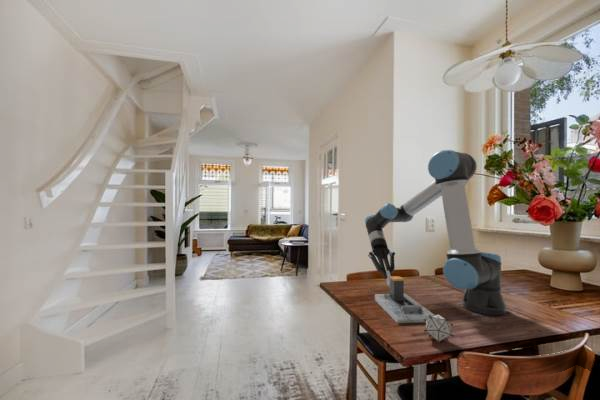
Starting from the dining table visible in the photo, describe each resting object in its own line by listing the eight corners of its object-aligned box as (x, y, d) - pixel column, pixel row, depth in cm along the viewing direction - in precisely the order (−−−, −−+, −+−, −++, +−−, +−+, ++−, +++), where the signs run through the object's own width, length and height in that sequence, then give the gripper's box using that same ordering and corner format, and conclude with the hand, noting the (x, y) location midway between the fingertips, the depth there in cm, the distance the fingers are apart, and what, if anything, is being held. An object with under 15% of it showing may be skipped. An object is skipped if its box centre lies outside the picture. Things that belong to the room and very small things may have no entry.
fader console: (374, 299, 124) (374, 289, 124) (405, 299, 125) (405, 289, 125) (397, 322, 100) (397, 310, 100) (435, 322, 101) (435, 309, 101)
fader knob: (389, 296, 120) (389, 276, 120) (400, 296, 120) (400, 276, 120) (393, 300, 115) (393, 279, 115) (404, 300, 115) (405, 279, 115)
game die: (445, 354, 86) (466, 336, 81) (420, 345, 86) (440, 326, 81) (436, 328, 94) (455, 310, 89) (413, 320, 94) (431, 301, 89)
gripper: (388, 246, 144) (402, 289, 127) (363, 246, 143) (374, 289, 126) (392, 237, 139) (407, 280, 122) (366, 237, 138) (378, 280, 121)
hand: (390, 284), depth 124 cm, fingers closed
